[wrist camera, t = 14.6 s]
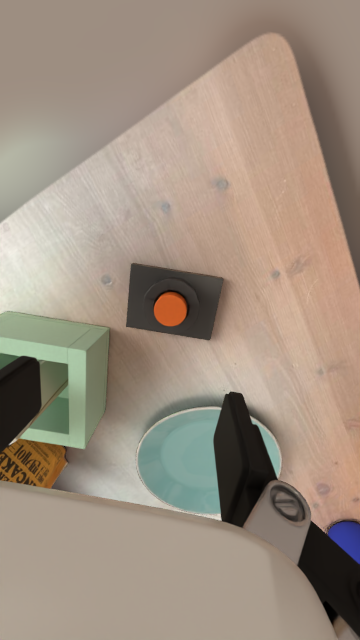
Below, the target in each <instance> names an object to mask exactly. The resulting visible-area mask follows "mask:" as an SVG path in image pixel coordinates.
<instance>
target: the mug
mask: <svg viewBox="0 0 360 640" xmlns="http://www.w3.org/2000/svg"><path fill="white" fill-rule="evenodd" d="M328 536H329V537H330V538H331V539H332V540H333V541H334V542H335V543H337V544H338V545H339V546H340V547H341V548H342V549H343V550H344V551H345V552H346V553H348V554H349V555H350V556H351V557H352V558H353V559H354V560H355V561H356V562H358V563H359V564H360V524H358V523H355V522H350V521H345V522H340V523H337V524H335V525H333V526H332V527H331V528H330V530H329V532H328Z"/></svg>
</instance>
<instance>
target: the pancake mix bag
mask: <svg viewBox="0 0 360 640" xmlns="http://www.w3.org/2000/svg"><path fill="white" fill-rule="evenodd" d="M65 453H66V449H65V448H64V446H63V445H57V444H51V443H44V442H38V441H32V440H26V439H20V438H19V439H18V440H17V441H16V442H14V443H12V444H10V445H8V446H7V447H6V449H5V450H4V451H3V452H2V453H1V454H0V480H1V481H7V482H13V483H19V484H25V485H31V486H37V487H43V488H49V489H50V488H51V487H52V485H53V484H54V482H55V481H56V479H57V478H58V476H59V475H60V473H61V472H62V471H63V469H64V468H65V467H66V466H67V465H68V462H67V461H66V459H65V458H64V455H65Z"/></svg>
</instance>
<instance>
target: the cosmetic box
mask: <svg viewBox="0 0 360 640" xmlns="http://www.w3.org/2000/svg"><path fill="white" fill-rule="evenodd" d="M38 361H39V363H40V379H41V400H42V406H41V409H40V411H39V413H38V414H37V415H36V416H35V417H34V418H33V419H32V420H31V421H30V423H29V424H28V425H27V426H26V427H25V428H24V429H23V430H22V431H21V432H20V433H19V434H18V436H17V437H16V438H15V439H14V440H13V441H12V442H11V443H10V444H12V443H14V442H16V441H17V440H18V439H19V438H20V437H21V435H22V434H23V433H24V432H25V431H26V430H27V429H28V428H29V427H30V426H31V425H32V424H33V422H34V421H35V420H36V419H37V418H38V417H39V416H40V415H41V414H42V413H43V412H44V411H45V409H46V408H47V407H48V406H49V405H50V404H51V403H52V402H53V401H54V400H55V399H56V398H57V397H58V395H59V394H60V393H61V392H62V391H63V390H64V389H65V388H66V387H67V386H68V385H69V384H68V364H65V363H59V362H52V361H46V360H38ZM10 444H9V445H10Z"/></svg>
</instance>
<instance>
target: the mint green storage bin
mask: <svg viewBox="0 0 360 640" xmlns="http://www.w3.org/2000/svg"><path fill="white" fill-rule="evenodd" d="M109 332H110V328H108V327H102V326H96V325H90V324H84V323H78V322H71V321H65V320H59V319H53V318H47V317H41V316H35V315H29V314H22V313H16V312H10V311H7V312H4V313H2V314H0V369H2V368H3V367H5V366H6V365H8V364H9V363H11V362H12V361H14V360H16V359H17V358H19V357H20V356H29V357H35V358H36V359H37V361H38V360H46V361H52V362H59V363H65V364H68V384H69V385H68V386H67V387H66V388H65V389H64V390H63V391H62V392H61V393H60V394H59V395H58V397H57V398H56V399H55V400H54V401H53V402H52V403H51V404H50V405H49V406H48V407H47V408H46V409H45V411H44V412H43V413H42V414H41V415H40V416H39V417H38V418H37V419H36V420H35V421H34V422H33V424H32V425H31V426H30V427H29V428H28V429H27V430H26V431H25V432H24V433H23V434H22V435H21V437H20V439H26V440H32V441H38V442H44V443H51V444H57V445H63V446H70V447H74V448H81V449H85V448H86V446H87V444H88V442H89V440H90V438H91V436H92V435H93V433H94V431H95V429H96V427H97V425H98V423H99V421H100V419H101V418H102V416H103V414H104V412H105V409H106V389H107V370H108V351H109Z"/></svg>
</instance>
